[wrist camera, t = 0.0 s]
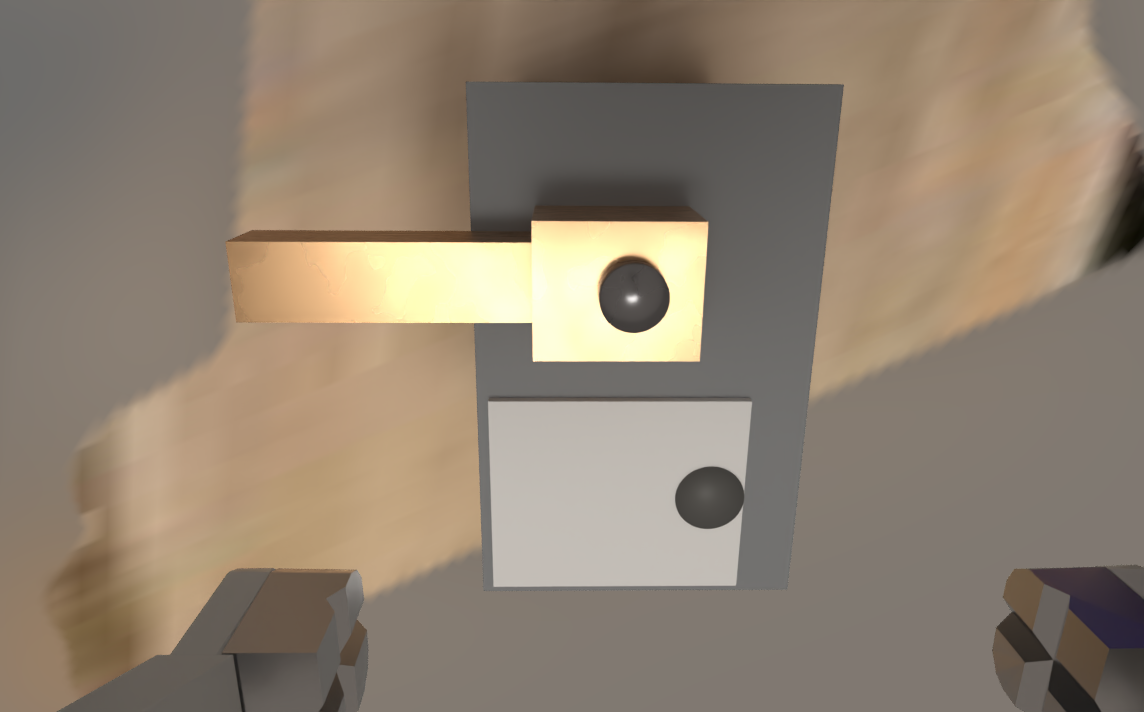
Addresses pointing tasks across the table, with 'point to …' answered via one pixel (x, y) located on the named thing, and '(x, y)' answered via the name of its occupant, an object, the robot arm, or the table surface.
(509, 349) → the plain gray box
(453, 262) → the brown flat block
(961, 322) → the table surface
